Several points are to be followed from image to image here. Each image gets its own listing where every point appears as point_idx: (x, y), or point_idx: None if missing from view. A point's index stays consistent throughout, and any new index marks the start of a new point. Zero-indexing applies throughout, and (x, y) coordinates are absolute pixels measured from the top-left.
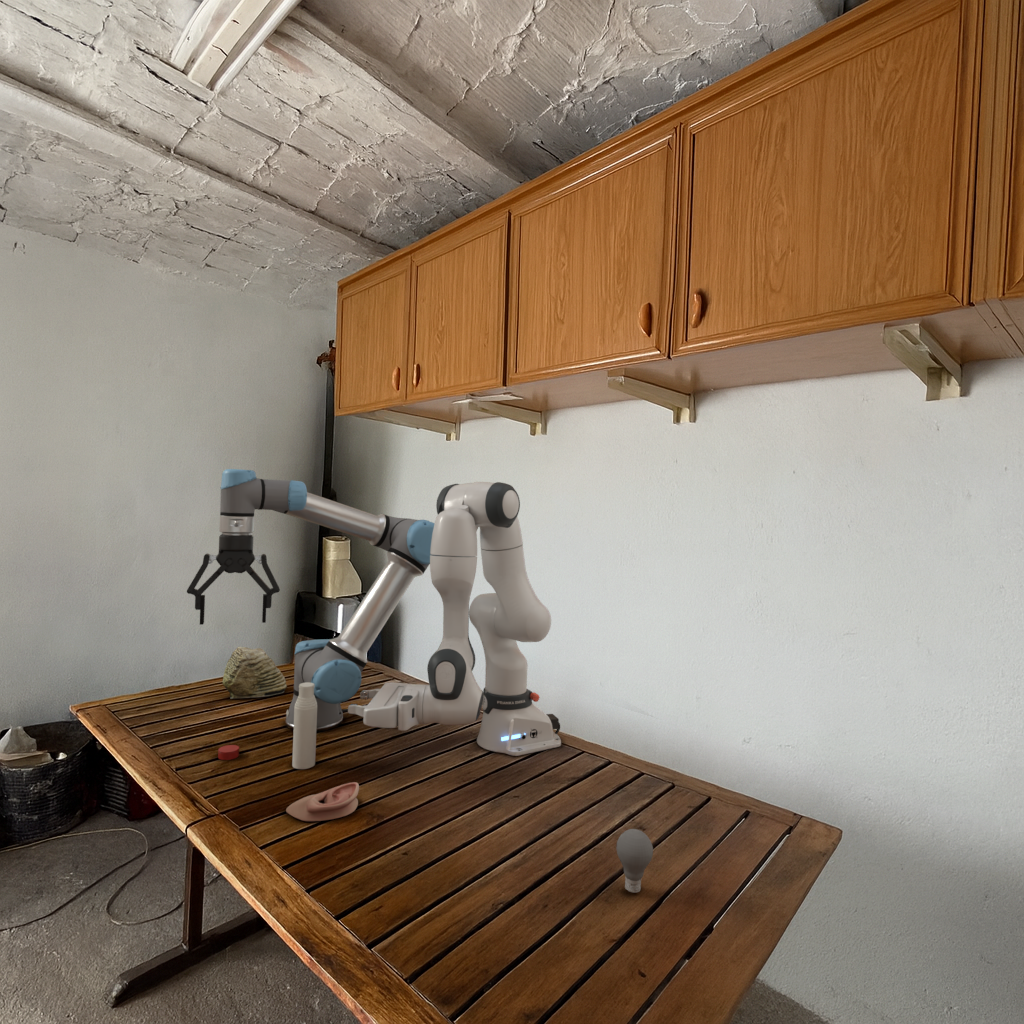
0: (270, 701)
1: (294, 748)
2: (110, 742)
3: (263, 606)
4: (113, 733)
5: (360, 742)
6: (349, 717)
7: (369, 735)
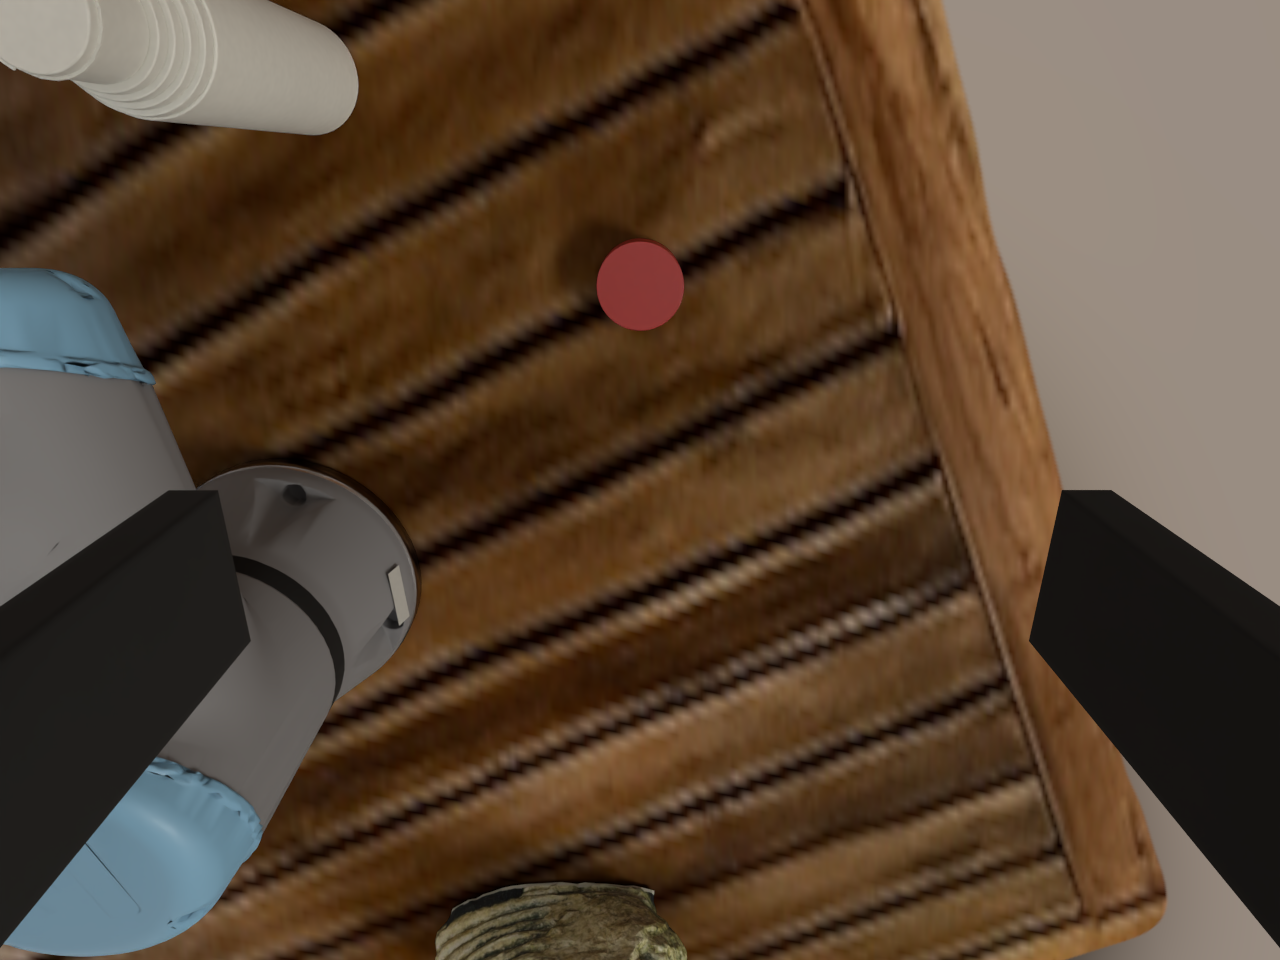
0: (498, 836)
1: (313, 36)
2: None
3: (18, 630)
4: None
5: None
6: None
7: None
